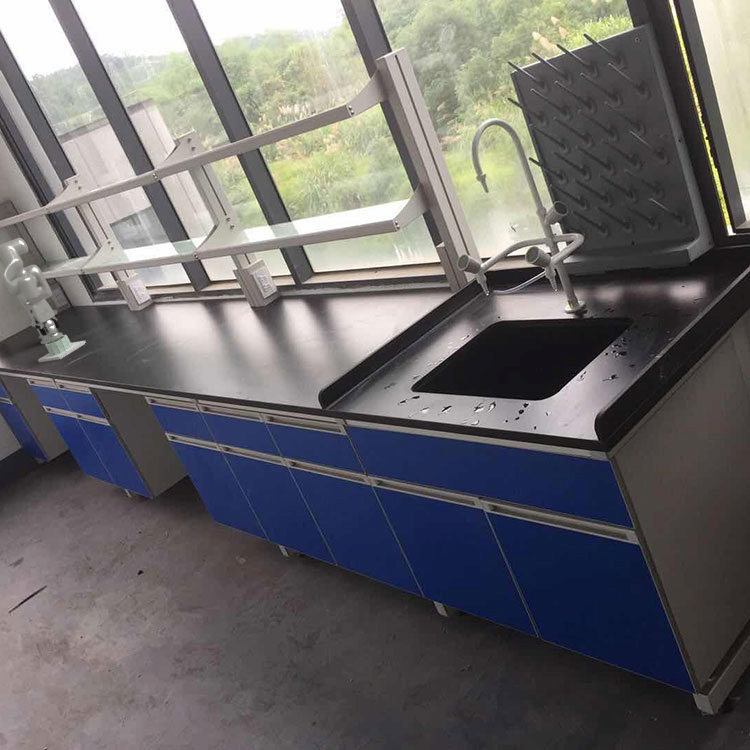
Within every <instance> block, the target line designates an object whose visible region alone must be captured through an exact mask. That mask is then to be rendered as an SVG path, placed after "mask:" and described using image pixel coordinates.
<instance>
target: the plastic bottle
mask: <svg viewBox="0 0 750 750" xmlns="http://www.w3.org/2000/svg"><path fill="white" fill-rule="evenodd" d="M42 328H44V329H45V331H46V333H47V335H48V336H49V338H50V341H51V343H54V342H56V341H58V340H60V339H62V338H61V336H60V335H59V333H60V332H59V330H58V328H56V325H55V323H54V321H53V320H51V319H49V320H48V321H46V322H44V323H42ZM58 332H59V333H58Z"/></svg>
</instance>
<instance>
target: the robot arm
mask: <svg viewBox="0 0 750 750" xmlns="http://www.w3.org/2000/svg"><path fill="white" fill-rule="evenodd" d="M28 252H29V246H28V244H27V242H26V241H25V240H24V239H23V238H21V237H16V238H15V239H12V240H9V241H6V242H4V243H1V244H0V264H1V265H2V266H3V267H4V271H3V274H2V275H3V278H2V279H3V282H4V284H5V286H6V288H7V290H8V292H9V293H10V294H11V295H12V296H17V298H18V300H19V302H20V303H21V305H22V306H23V307H24V309H25V310H26V312H27V313H28V315H29V317H30V319H31V323H30V326H31V327H33V328H35V329H36V330H37V332H38V334H39V336H38V339H41V341H40V345H45V344H46V343H47V342H49V341H50V338H49V336H48V335H47V333H46V331H45V329H44V328H42V323H44V322H46V321H48V320H49V319H51V320H53V321H54V323H55V325H56V328H57V329H60V324H59V322H58V310H57V309H53V308H52V307H51V305H50V304H49V302H48V301H47V299H50V298H51V297H52V296H53V292H52V289H51V286H50V285H49V283H48V281H47V279H46V277H45V275H44V274H43V271H42V270H41V268H40V267H39V266H38V265H36V264H31V265H30V264H29V265H28V266H25V267H24V261H23V260H22V258H21V257H20V256H21V255H24V254H27V253H28ZM58 333H59V335H60V336H62V335H64V334H63V333H62V332H59V331H58Z"/></svg>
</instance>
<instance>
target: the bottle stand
mask: <svg viewBox="0 0 750 750" xmlns="http://www.w3.org/2000/svg"><path fill="white" fill-rule="evenodd" d="M61 338H62V339H60V340H58V341H56V342H54V343H51V341H49V342H47V343H46V344H44V346H45V348H46V349H47V351H48V353H47V354H45V355H43V356H42V357H40V358H38V359H37V361H38V363H43V362H44V363H45V362H51V361H52V362H53V361H58V360H62V359H63V358H65V357H66V356H68V355H70V354H71V353H73V352H74V351H76V350H78V349H79V348H81V347H82V346H84V345H86V344H87V342H86V340H80V341H74V342H71V340H70V339H69V337H68V335H67V334H63V335H62V336H61ZM85 343H86V344H85Z"/></svg>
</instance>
